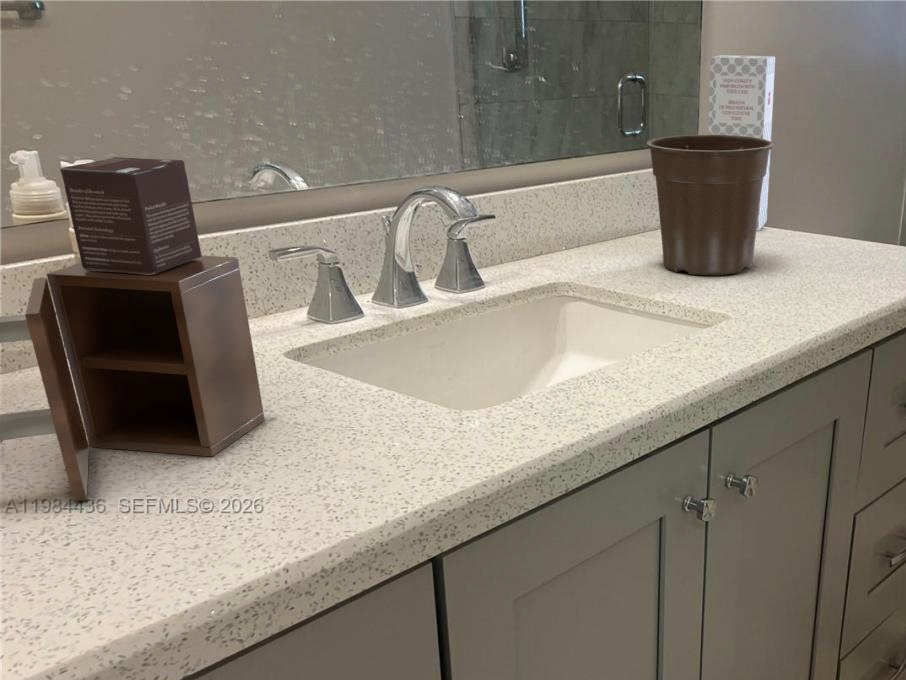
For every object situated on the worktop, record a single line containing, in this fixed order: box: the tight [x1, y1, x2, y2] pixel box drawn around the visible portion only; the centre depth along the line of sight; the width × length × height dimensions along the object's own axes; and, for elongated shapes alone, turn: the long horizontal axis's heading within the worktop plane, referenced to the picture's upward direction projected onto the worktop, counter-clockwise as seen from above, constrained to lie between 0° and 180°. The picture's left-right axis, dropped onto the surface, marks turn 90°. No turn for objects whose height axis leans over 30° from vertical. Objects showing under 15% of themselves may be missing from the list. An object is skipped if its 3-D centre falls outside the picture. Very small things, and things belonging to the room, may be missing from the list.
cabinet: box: [46, 255, 265, 457], centre depth 81 cm, size 8×10×14 cm
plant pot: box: [646, 134, 774, 277], centre depth 137 cm, size 16×16×16 cm
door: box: [0, 277, 90, 502], centre depth 72 cm, size 7×10×13 cm
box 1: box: [59, 156, 203, 275], centre depth 77 cm, size 6×6×7 cm
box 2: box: [707, 54, 776, 232], centre depth 163 cm, size 8×8×25 cm
